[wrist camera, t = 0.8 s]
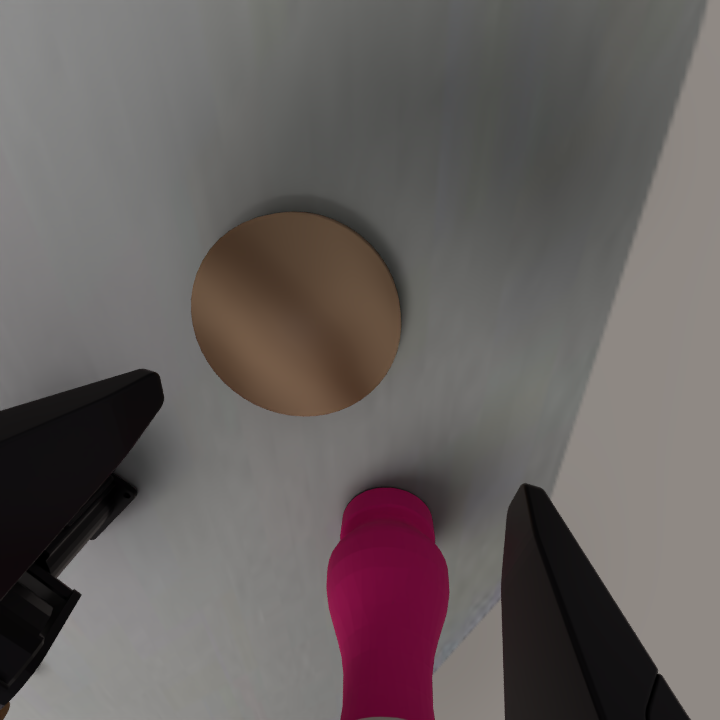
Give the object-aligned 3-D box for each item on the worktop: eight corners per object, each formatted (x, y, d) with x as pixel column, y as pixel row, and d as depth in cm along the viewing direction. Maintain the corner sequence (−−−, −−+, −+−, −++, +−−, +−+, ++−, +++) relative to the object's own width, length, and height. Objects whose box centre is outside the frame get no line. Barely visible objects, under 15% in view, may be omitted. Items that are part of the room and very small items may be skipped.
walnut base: (310, 434, 25) (305, 449, 23) (166, 316, 22) (151, 325, 21) (442, 317, 21) (446, 326, 20) (288, 160, 19) (280, 158, 17)
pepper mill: (408, 571, 29) (444, 1213, 11) (319, 535, 28) (196, 1169, 10) (459, 505, 26) (624, 1222, 8) (363, 464, 26) (302, 1161, 7)
